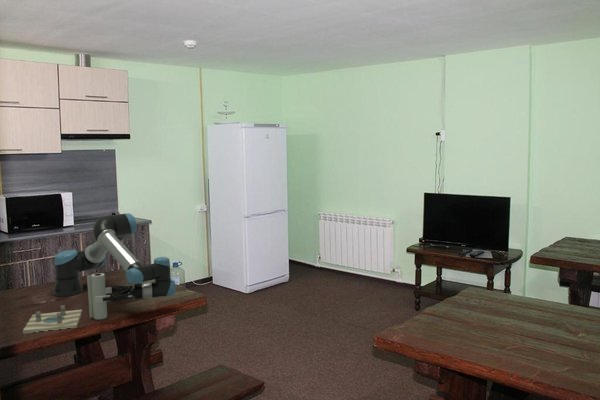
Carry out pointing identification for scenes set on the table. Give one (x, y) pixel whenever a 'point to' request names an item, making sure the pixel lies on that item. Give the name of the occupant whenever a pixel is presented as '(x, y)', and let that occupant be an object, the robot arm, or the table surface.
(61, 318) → the plate
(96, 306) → the paper towel roll
